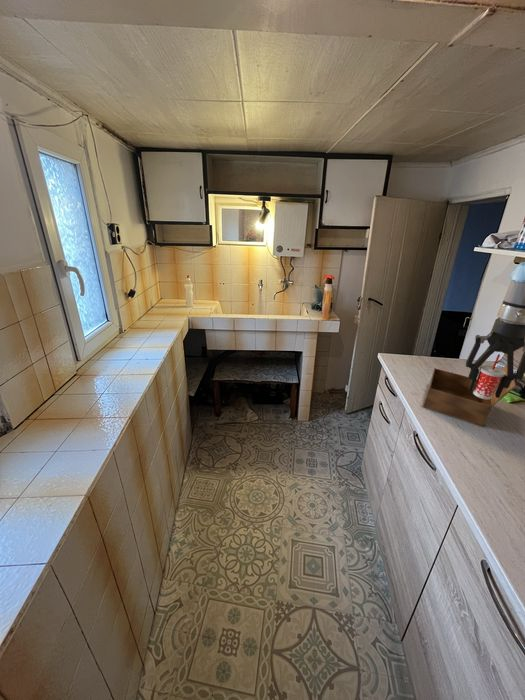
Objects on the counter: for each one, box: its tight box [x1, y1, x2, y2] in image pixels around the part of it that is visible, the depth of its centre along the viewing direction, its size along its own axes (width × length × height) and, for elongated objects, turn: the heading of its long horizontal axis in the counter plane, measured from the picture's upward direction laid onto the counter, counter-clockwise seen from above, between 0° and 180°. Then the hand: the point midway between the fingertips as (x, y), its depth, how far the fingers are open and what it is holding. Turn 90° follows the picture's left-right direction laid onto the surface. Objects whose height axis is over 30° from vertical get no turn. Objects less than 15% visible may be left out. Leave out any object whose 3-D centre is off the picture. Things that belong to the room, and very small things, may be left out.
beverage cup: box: [473, 353, 505, 400], centre depth 84 cm, size 6×6×14 cm
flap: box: [491, 364, 517, 406], centre depth 99 cm, size 9×20×1 cm
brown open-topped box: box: [422, 367, 493, 427], centre depth 108 cm, size 19×20×8 cm
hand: (483, 391), depth 87 cm, fingers closed on beverage cup, 6 cm apart
